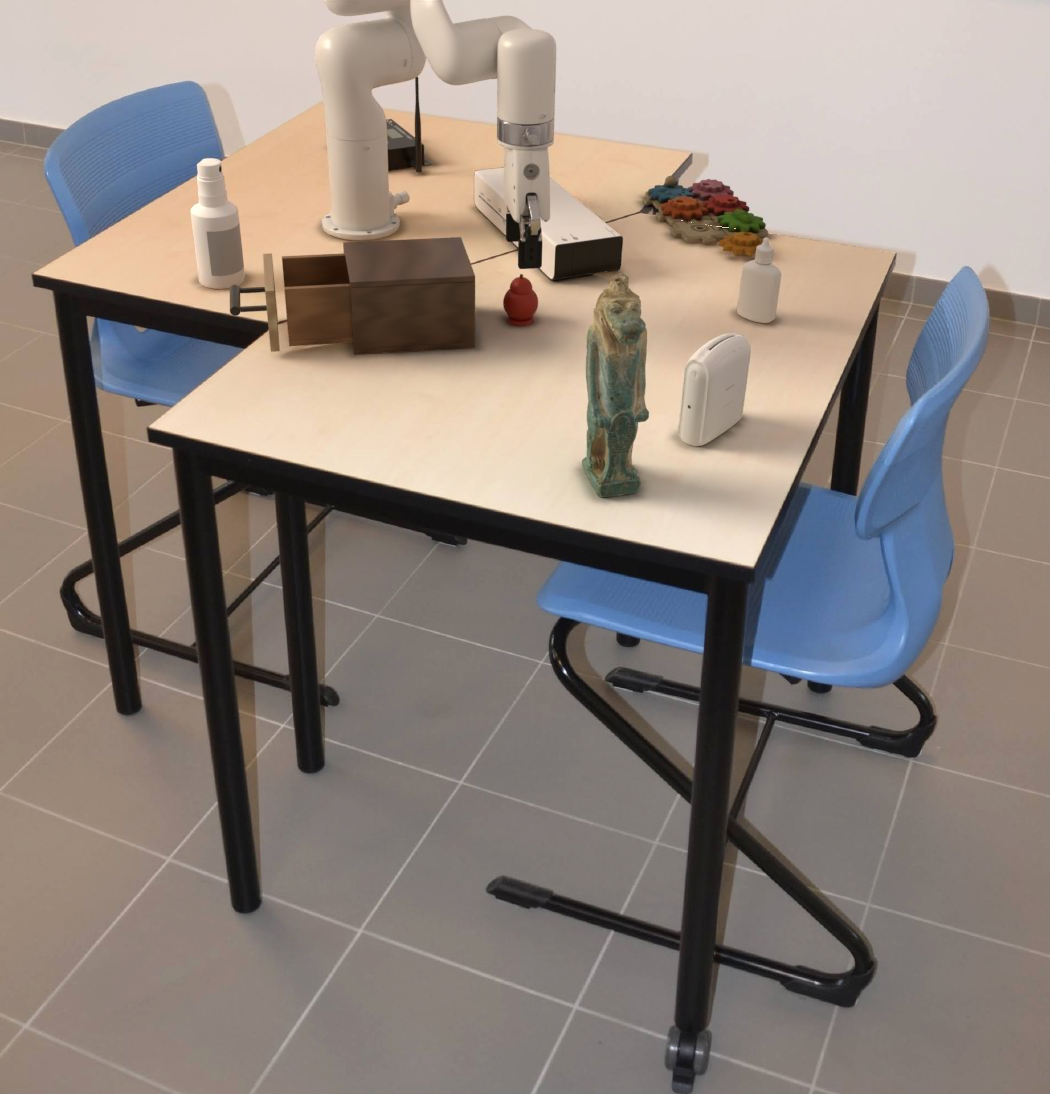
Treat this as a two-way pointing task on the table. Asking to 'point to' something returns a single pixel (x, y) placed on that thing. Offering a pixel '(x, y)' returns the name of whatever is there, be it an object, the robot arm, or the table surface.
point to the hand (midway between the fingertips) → (523, 253)
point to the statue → (615, 389)
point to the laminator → (556, 229)
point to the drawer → (305, 300)
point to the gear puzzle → (707, 215)
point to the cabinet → (410, 295)
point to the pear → (520, 302)
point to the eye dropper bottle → (759, 286)
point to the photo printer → (714, 389)
